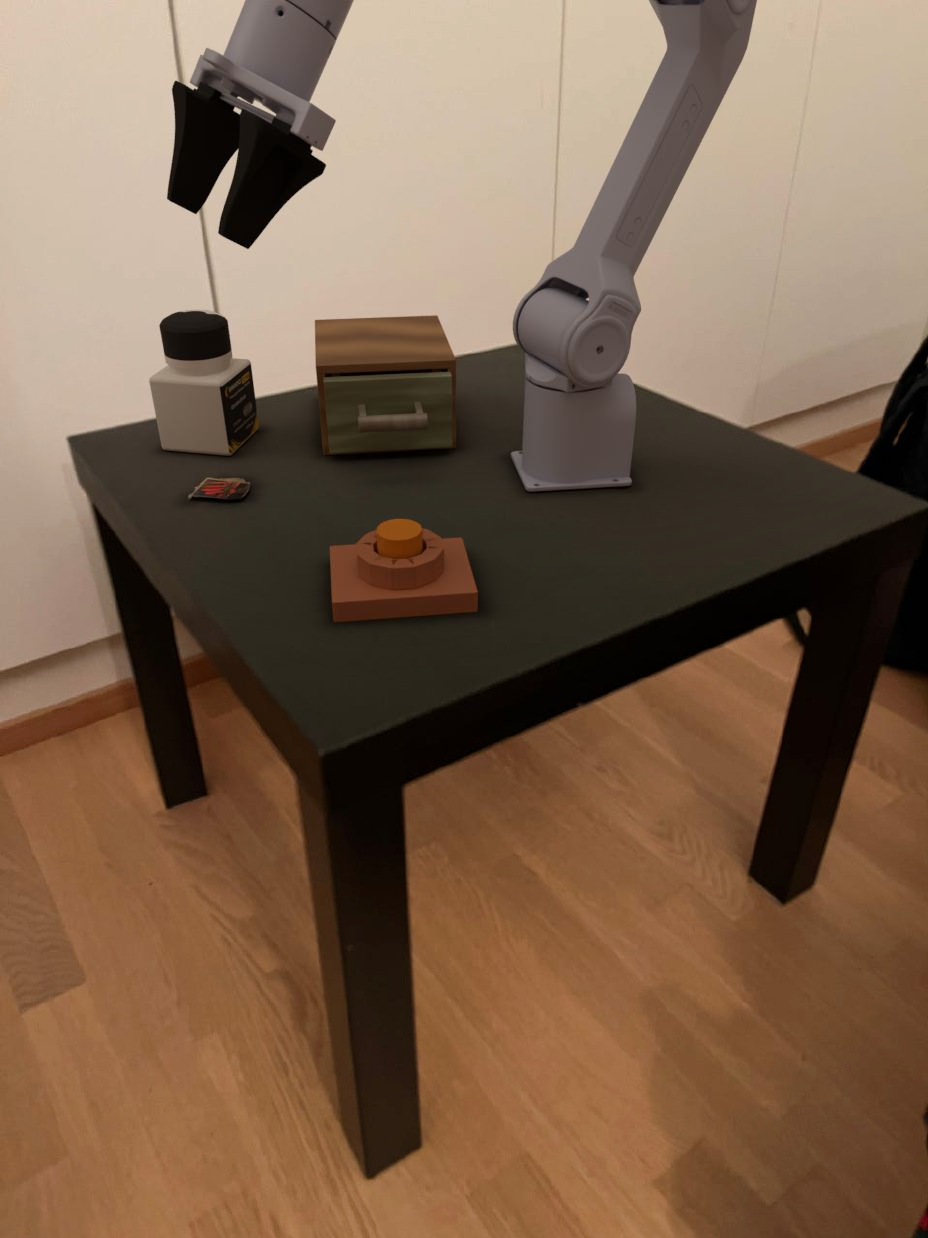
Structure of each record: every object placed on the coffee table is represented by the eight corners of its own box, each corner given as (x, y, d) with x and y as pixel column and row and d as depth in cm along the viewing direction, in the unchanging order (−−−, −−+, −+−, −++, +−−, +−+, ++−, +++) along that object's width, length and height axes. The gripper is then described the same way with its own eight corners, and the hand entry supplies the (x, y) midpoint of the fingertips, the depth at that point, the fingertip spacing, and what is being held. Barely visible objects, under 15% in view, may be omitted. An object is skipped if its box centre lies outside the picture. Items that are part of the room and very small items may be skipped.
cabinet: (456, 448, 89) (456, 359, 84) (323, 455, 88) (315, 365, 83) (438, 395, 101) (437, 314, 96) (321, 400, 100) (314, 319, 95)
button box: (462, 556, 72) (462, 515, 70) (477, 612, 65) (478, 569, 63) (331, 565, 70) (327, 523, 69) (333, 623, 64) (329, 579, 62)
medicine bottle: (231, 457, 87) (212, 328, 81) (160, 451, 88) (136, 323, 82) (260, 428, 93) (245, 306, 86) (193, 423, 94) (173, 302, 88)
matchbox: (248, 501, 79) (247, 496, 79) (186, 504, 79) (185, 499, 78) (252, 478, 83) (252, 473, 83) (194, 480, 83) (193, 476, 82)
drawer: (459, 467, 83) (459, 393, 79) (330, 474, 82) (324, 400, 78) (436, 396, 98) (435, 331, 94) (327, 401, 97) (321, 336, 93)
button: (420, 538, 68) (419, 516, 67) (424, 560, 65) (424, 538, 64) (376, 541, 67) (374, 519, 66) (378, 563, 65) (377, 541, 64)
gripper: (187, -44, 59) (107, 165, 63) (304, -7, 50) (204, 231, 54) (275, 23, 64) (197, 211, 68) (394, 65, 56) (297, 277, 60)
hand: (206, 223), depth 62 cm, fingers open, 7 cm apart
